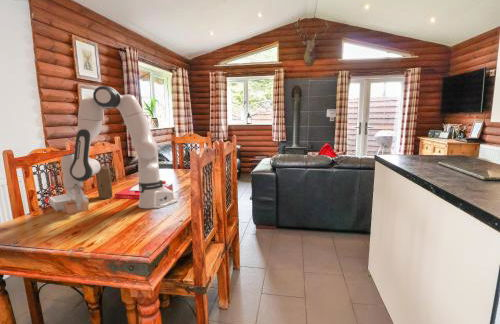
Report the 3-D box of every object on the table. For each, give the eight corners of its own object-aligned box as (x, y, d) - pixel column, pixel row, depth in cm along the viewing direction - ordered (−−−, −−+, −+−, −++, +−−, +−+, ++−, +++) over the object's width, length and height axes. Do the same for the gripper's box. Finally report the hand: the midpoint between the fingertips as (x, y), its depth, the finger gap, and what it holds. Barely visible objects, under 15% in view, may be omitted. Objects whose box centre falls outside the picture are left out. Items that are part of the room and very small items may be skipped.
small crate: (85, 207, 155) (84, 199, 155) (88, 209, 151) (87, 201, 150) (64, 212, 148) (63, 203, 148) (67, 214, 144) (66, 205, 143)
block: (113, 198, 173) (110, 167, 170) (100, 200, 168) (97, 168, 165) (110, 194, 181) (107, 165, 178) (97, 196, 177) (94, 166, 174)
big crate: (81, 199, 171) (80, 191, 170) (89, 204, 160) (88, 196, 159) (50, 205, 160) (49, 197, 159) (56, 211, 149) (55, 203, 148)
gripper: (85, 185, 142) (88, 210, 145) (74, 179, 156) (77, 202, 159) (71, 187, 138) (75, 213, 140) (62, 181, 152) (65, 204, 154)
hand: (76, 207), depth 149 cm, fingers open, 7 cm apart
